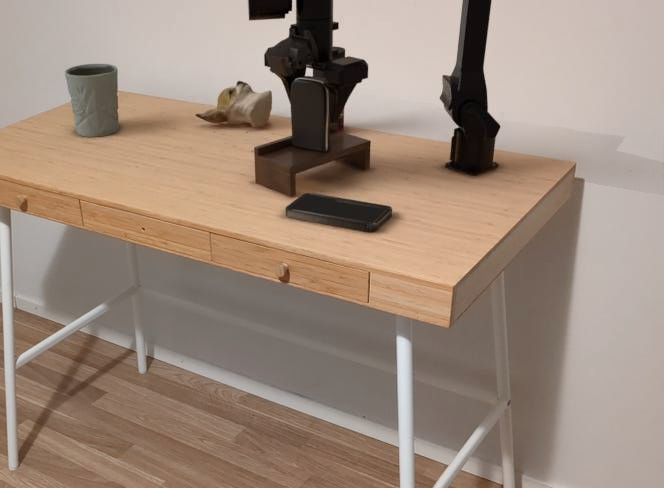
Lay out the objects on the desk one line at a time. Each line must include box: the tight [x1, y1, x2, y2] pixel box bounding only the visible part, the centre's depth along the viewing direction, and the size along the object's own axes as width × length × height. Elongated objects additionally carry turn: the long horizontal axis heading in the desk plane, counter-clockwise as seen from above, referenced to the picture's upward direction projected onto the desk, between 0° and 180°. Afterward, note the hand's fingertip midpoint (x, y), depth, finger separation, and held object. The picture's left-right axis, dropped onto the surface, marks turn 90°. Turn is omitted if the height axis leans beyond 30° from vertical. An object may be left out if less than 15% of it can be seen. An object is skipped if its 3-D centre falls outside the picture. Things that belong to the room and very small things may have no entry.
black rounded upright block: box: [290, 75, 331, 152], centre depth 146 cm, size 7×4×11 cm, turn 50°
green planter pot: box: [64, 63, 120, 138], centre depth 177 cm, size 10×10×12 cm
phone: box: [285, 192, 393, 233], centre depth 137 cm, size 8×1×15 cm
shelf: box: [253, 123, 372, 198], centre depth 150 cm, size 9×18×6 cm, turn 127°
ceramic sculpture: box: [195, 80, 273, 128], centre depth 177 cm, size 11×9×15 cm
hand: (314, 116), depth 147 cm, fingers open, 9 cm apart
